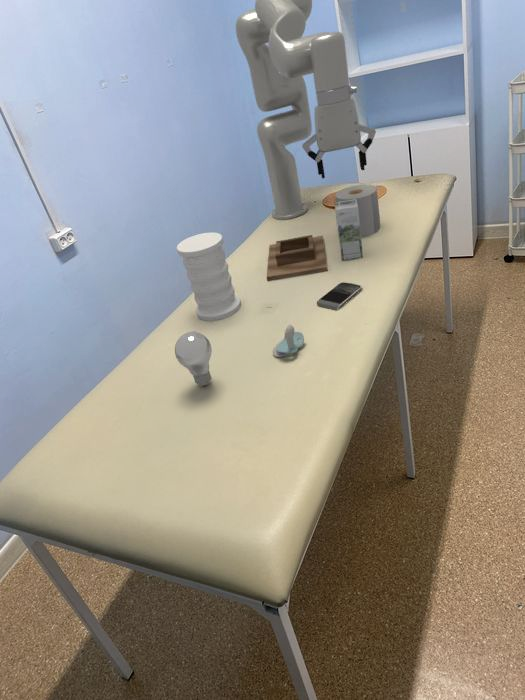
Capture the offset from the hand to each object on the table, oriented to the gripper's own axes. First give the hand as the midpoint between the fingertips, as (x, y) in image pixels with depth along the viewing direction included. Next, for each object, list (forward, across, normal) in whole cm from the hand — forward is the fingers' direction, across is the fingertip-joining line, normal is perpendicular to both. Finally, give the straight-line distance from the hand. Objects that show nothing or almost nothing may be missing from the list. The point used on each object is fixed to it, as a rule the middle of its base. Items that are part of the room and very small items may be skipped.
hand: (342, 172), depth 122 cm
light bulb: (+23, +34, +48) cm, 64 cm away
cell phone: (+23, +5, +22) cm, 32 cm away
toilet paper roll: (+22, -4, -18) cm, 29 cm away
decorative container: (+22, +35, +18) cm, 45 cm away
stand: (+22, +15, -4) cm, 27 cm away
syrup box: (+22, 0, 0) cm, 22 cm away
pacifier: (+23, +18, +40) cm, 50 cm away
